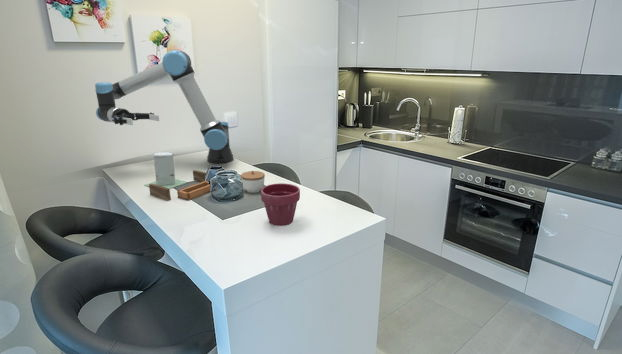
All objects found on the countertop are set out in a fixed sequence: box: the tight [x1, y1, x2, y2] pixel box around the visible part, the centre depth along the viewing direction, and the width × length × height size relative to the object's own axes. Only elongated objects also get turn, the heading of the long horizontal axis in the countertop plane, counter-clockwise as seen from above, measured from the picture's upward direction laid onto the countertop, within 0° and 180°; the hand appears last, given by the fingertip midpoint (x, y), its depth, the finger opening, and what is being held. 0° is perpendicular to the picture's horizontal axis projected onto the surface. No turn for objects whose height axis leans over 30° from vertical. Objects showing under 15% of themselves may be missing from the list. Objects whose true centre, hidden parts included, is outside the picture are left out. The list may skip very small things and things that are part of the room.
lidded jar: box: [240, 170, 266, 193], centre depth 160 cm, size 11×11×9 cm
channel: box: [148, 169, 207, 201], centre depth 161 cm, size 26×12×5 cm, turn 148°
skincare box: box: [153, 151, 176, 186], centre depth 166 cm, size 8×6×15 cm
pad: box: [144, 178, 189, 190], centre depth 168 cm, size 14×14×1 cm
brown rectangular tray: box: [176, 181, 211, 201], centre depth 157 cm, size 16×6×3 cm, turn 148°
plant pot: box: [260, 183, 301, 227], centre depth 129 cm, size 14×14×13 cm
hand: (145, 120), depth 163 cm, fingers open, 13 cm apart
